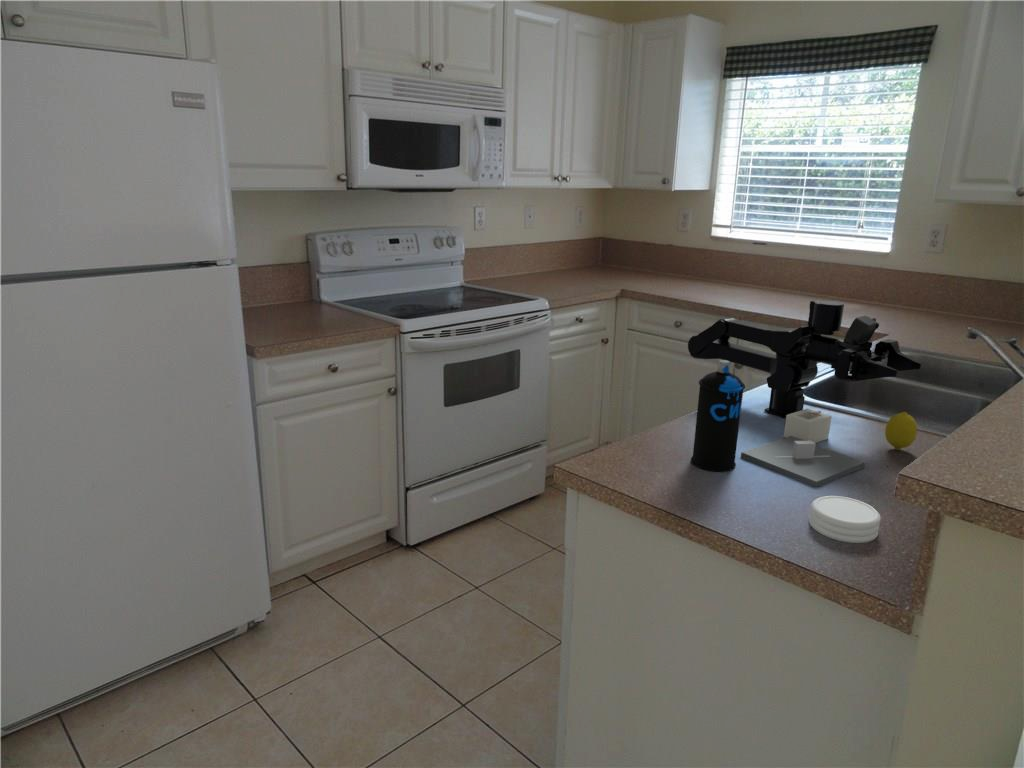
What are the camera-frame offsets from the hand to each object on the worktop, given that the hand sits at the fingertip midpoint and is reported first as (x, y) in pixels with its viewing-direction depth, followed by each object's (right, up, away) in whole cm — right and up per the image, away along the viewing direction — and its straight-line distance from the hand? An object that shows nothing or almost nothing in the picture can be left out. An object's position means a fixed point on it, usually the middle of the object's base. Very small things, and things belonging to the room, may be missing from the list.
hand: (909, 369), depth 142 cm
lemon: (0, -16, +5) cm, 17 cm away
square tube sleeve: (-16, -14, +10) cm, 24 cm away
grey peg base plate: (-22, -18, -3) cm, 28 cm away
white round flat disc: (-25, -26, -27) cm, 45 cm away
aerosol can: (-39, -18, -4) cm, 43 cm away
